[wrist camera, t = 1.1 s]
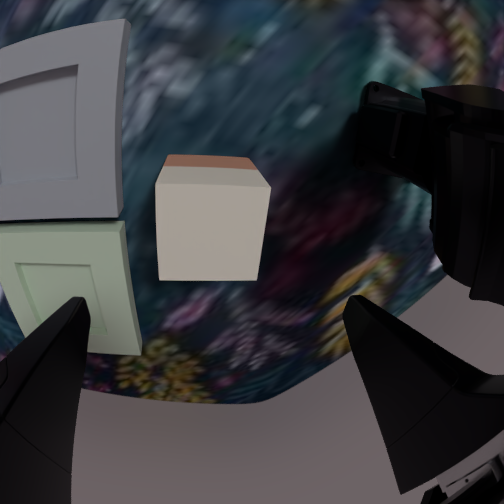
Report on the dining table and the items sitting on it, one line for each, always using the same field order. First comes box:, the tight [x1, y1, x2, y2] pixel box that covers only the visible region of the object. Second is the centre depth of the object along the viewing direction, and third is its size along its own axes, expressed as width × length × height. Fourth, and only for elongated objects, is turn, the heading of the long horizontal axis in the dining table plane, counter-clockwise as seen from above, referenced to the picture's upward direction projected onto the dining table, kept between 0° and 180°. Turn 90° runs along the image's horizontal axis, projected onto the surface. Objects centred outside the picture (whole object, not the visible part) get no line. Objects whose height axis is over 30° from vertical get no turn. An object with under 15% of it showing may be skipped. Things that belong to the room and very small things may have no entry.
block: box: [155, 155, 271, 281], centre depth 16 cm, size 5×5×6 cm
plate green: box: [0, 221, 142, 355], centre depth 19 cm, size 12×12×2 cm
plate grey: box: [0, 19, 131, 221], centre depth 13 cm, size 12×12×2 cm
